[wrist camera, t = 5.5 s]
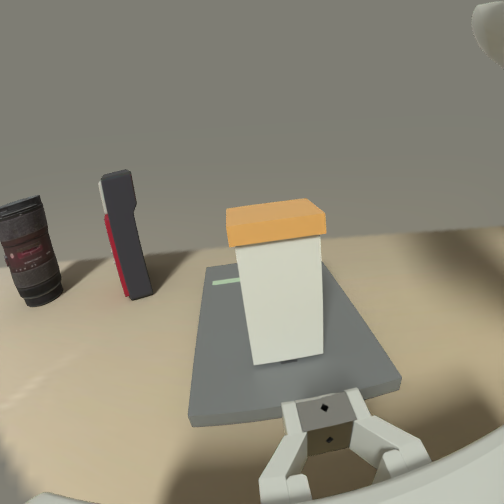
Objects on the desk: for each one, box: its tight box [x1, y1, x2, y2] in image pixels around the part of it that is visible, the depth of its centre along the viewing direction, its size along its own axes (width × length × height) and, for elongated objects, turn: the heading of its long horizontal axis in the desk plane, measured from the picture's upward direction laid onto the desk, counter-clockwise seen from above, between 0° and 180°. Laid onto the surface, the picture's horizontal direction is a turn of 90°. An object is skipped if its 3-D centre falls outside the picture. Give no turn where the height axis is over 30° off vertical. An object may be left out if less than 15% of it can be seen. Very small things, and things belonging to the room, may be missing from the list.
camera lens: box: [0, 195, 62, 307], centre depth 37 cm, size 8×8×15 cm
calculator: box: [99, 169, 153, 300], centre depth 38 cm, size 11×4×15 cm, turn 26°
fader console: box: [188, 261, 402, 427], centre depth 29 cm, size 14×24×1 cm, turn 5°
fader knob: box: [226, 198, 326, 365], centre depth 21 cm, size 6×5×10 cm
